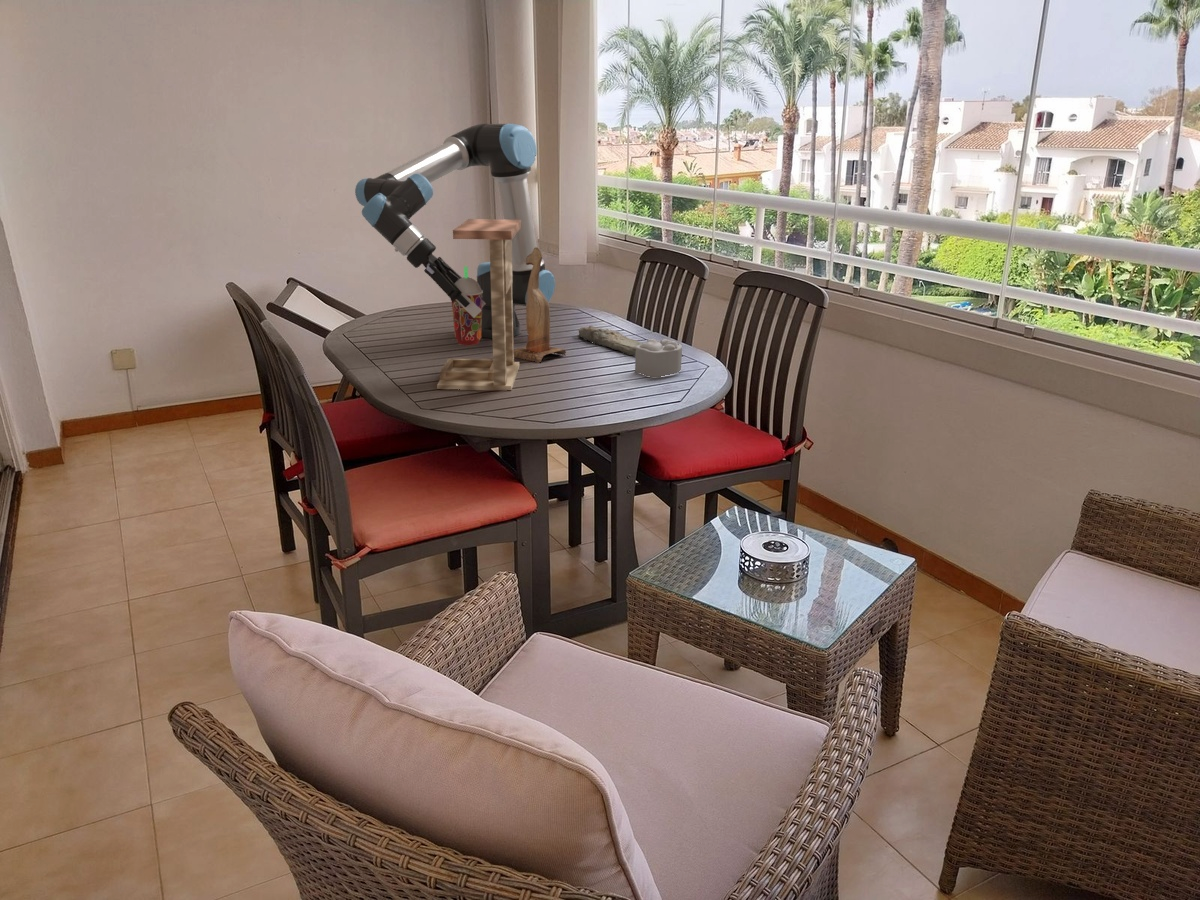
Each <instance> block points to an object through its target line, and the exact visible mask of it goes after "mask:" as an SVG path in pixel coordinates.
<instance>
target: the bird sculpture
mask: <svg viewBox="0 0 1200 900" xmlns="http://www.w3.org/2000/svg"><path fill="white" fill-rule="evenodd" d="M542 259H543V254H542V251H541V249H540V248H538V246H537V247H534V250H533V252H532V254H529V255H528V256H527V258H526V265H529V264H531V265H533V268H532V271H531V274H530V278H529V283H528V289H527V300H526V306H525V307H526V308H525V310H526V311H525V313H526V314H525V315H526V316H525V317H526V319H525V322H526V331H527V335H528V337H527V341H526V344H525V346H524V347H519V348H516V349H515V348H514V358H517V359H522V360H525V359H526V360H525V361H530V362H534V361H535V363H538V362H541V363H542V359H543V358H544V357H545V356H547V355H549V354H555V355H558V354H559V355H561V356H566V353H567V352H566V350H565V349H563V348H558V347H551V346H550V345H551V331H550V329H551V317H550V315H551V312H550V311H551V310H550V303H549V302H548V301H547V299H546V298H545V296H544V295H543V293H542V292H541V291H540V290H539V272H540V266H541V261H542Z"/></svg>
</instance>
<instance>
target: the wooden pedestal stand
mask: <svg viewBox="0 0 1200 900" xmlns="http://www.w3.org/2000/svg"><path fill="white" fill-rule="evenodd" d="M520 228H521V220H504V219H498V218H497V219H493V218H491V219H490V218H489V219H487V218H468V219H466V220H465V221H463V222H462V223H461V224H460V225H457V227H455V228H454V229H452V238H453V240H489V241H488V242H489V262H490V274H491V307H492V338H491V339H492V358H448V359H447V361H446V362H445V363H444V365H443V366H442V368H441V369H440V372H439V378H440V379H439V381H438V383H437V384H436V390H437V389H458V390H457V391H507V390H511V391H512V390H513V387H514V384H515V381H516V378H517V374H518V371H519V369H520V361H515V357H514V350H515V347H514V336H513V298H512V283H513V280H512V239H513V237H514V236H515V235H516V233H517V232H518V231H519V229H520ZM459 389H460V390H459Z"/></svg>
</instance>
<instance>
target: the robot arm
mask: <svg viewBox="0 0 1200 900" xmlns="http://www.w3.org/2000/svg"><path fill="white" fill-rule="evenodd" d="M442 143H443V144H440V145H439V146H436V147H435V148H433V149H431V150H429V151H426V152H425V153H423V154H421V155H419V156H417V157H415V158H413V159H411V160H409V161H408V162H405V163H403V164H402V165H399V166H397V167H396V168H393V169H392V170H390V171H387V172H385V173H383V174H381V175H379V176H376V177H374V178H372V177H367V178H362V179H361V180H358V182H357V184H356V185H355V189H354V190H355V191H354V192H355V193H354V194H355V198H356V200H357V203H358V204H360V205H361V206H363V208H362V210H361V214H362V217H363V218H364V219H365V220H366V222H368V223H369V224H370V226H371V227H372V228H374V229H375V230H376V232H378V233H379V234H380V235H381V236H382V237H383V238H384V239H385V240H386V241H387V242H388V243H389V244H390V245H392V247H394V251H395V252H396V253H397V252H398V253H400V254H401V255H402V256H403V257H405V256H406V260H407V262H409V263H410V264H411V265H412V266H413V267H414V268H415V269H417V268H420V266H421V265H422V266H423V267H424V268H425V269H424V273H425V274H426V275H428V276H429V277H430V279H432V280H433V281H434V283H435V284H436V285H438V287H439V288H440V289H441V290H442V291H443V292H444V293H445V294H446V296H448V297H449V299H450V301H451V303H452V302H454V301H455V300H456V301H457V302H458V303H459V304H460V305H461V306H462V307H463V308H464V309H465V310H466V311H467V312H468V313H469V314H470V315H471V316H472V317H473V318H475V317H476V316H477V315H478V314H479V313H480V312H481V311H482V326H481V338H490V339H492V307H491V274H490V261H485V262H481V263H479V264H478V266H477V268H476V269H477V270H476V271H477V272H476V281H477V282H478V284H479V285H480V287H481V290H483V293H482V310H481V309H480V308H479V307H478V306H477V305H476V304H475V303H474V302H473V301H472V300H471V299H470V298H469V297H468V296H467V295H466V294H465V293H462V292H461V291H460V290H459V289H458V288H457V286H456V285H455V282H456V281H457V280H459V279H461V278H463V277H462V276H461V275H459V273H457V272H456V270H454V269H453V268H452V267H451V266H450V265H449V264H447V262H446V261H445V260H444V259H443V258H442V257H441V256H439V257H436V256H435V255H433V253H434V252H435V251H436V249H437V247H436V245H434V244H433V242H431V240H430V239H429V238H424V236H425V234H424V233H423V232H422V231H421V230H419V228H418V227H416V225H414V224H413V222H411V221H410V219H411V218H412V217H413V216H414V215H415V214H417V213H418V212H419V211H420V210H421V209H422V208H423V207H424V206H426V205H427V203H429V201H430V200H431V198H433V195H434V188H433V185H432V184H431V183H432V182H434V181H435V182H436V180H438V179H440V178H442V177H445V176H447V175H448V174H449V173H452V172H453V171H455V170H457V171H463V170H465V169H467V168H469V167H470V168H471V167H479V166H480V167H481V166H482V167H489V169H490V174H491V175H490V176H491V177H492V179H495V180H496V181H497V185H498V186H497V187H498V193H499V197H500V203H501V210H502V216H503V220H521V228H520V229H519V231H518V232H517V233H516V235H515V236H514V237H513V239H512V280H513V283H512V298H513V337H516V336H518V335H520V334H521V324H520V321H519V319H518V316H517V311H516V309H515V305H518V306H522V307H526V300H527V289H528V283H529V278H530V274H531V271H532V268H533V265H531V264H529V265H526V258H527V256H528V255H529V254H532V252H533V250H534V247H537V248H538V243H537V237H536V231H535V223H534V217H533V216H534V215H533V211H532V203H531V195H530V190H529V182H528V177H529V175H530V173H532V167H531V166H533V165H534V163H535V162H536V156H537V155H538V154H537V149H538V147H537V143H536V140H535V138H534V135H533V133H531V131H530V130H529V129H527V128H526V126H524V125H520V124H516V123H515V124H514V123H479V124H478V123H477V124H475V125H472V126H469V127H467V128H464V129H463V130H461V131H459V132H458V131H457V132H456V133H454V134H452V135H450V136H448V137H447V138H445V139H444V140H443V142H442ZM555 289H556V279H555V276H554V274H553V273H552V272H551V271H549V270H548V269H546V265H545V260H544V259H543V258H542V261H541V266H540V272H539V290H540V291H541V292H542V293H543V295H544V296H545V298H546V299H547V301H548V303H549V302H550V301H551V299H552V297H553V296H554V294H555V293H554V292H555ZM461 293H462V294H461Z"/></svg>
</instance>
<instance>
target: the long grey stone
mask: <svg viewBox="0 0 1200 900" xmlns="http://www.w3.org/2000/svg"><path fill="white" fill-rule="evenodd" d="M578 336H579V337H581V338H584V339H583V340H585V339H586V340H585V341H587V340H589V341H590V343H591V342H593V343H592V344H594V343H596V344H595V345H598V344H599V346H601V345H602V346H601V347H604V346H605V347H608V348H610V349H612V350H613V349H614V351H615V350H616V351H619V352H621V353H623V352H624V353H623V354H625V353H626V355H628V354H630V355H629V356H631V355H634V356H633V357H635V355H636V346H637V345H641V344H643V343H644V342H641V341H639V340H636V339H633V338H629V337H627V336H625V335H623V334H622V333H621V332H618V331H616V330H615V329H614V330H613V329H608V328H606V329H605V328H604V329H603V328H598V327H595V326H592V325H589V326H585V327H582V326H581V327H580V328H579V329H578ZM589 341H588V342H589Z"/></svg>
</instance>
